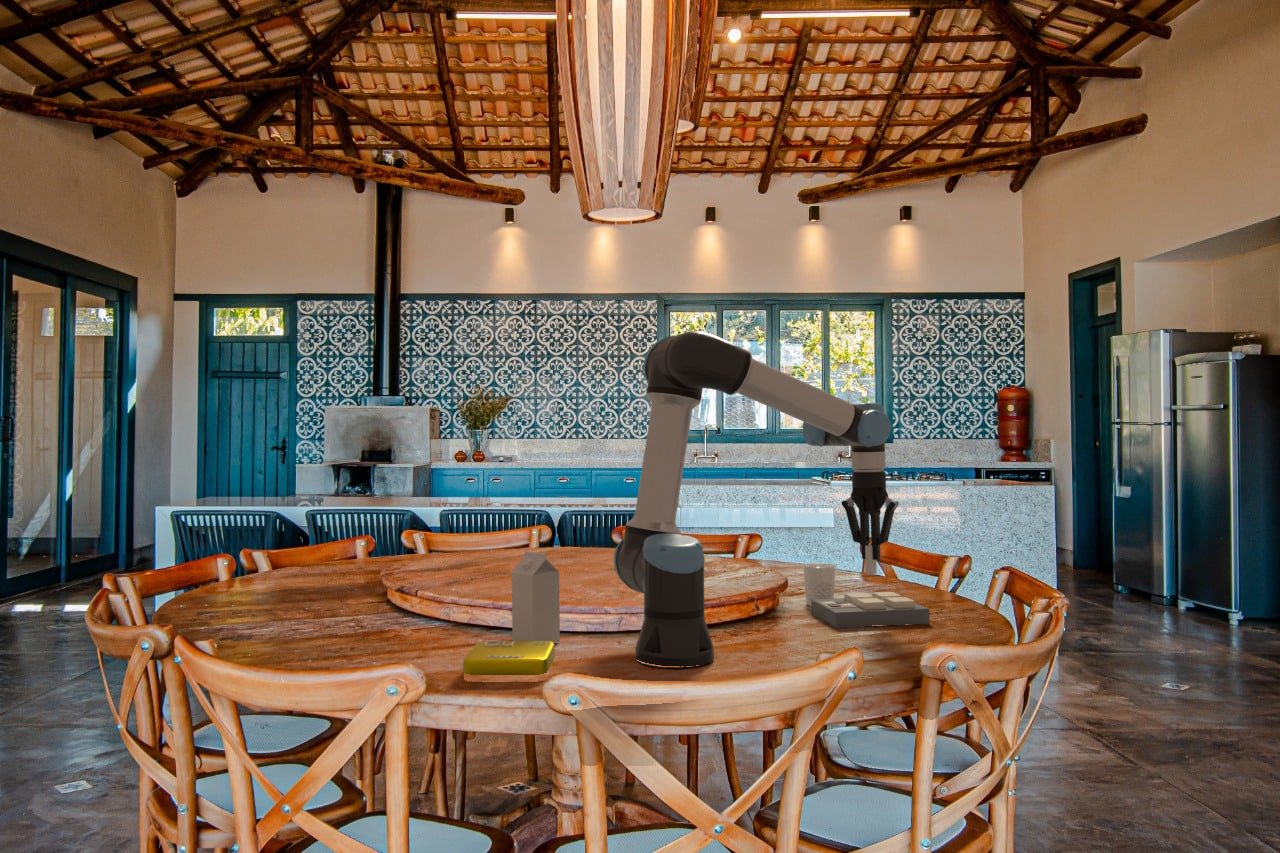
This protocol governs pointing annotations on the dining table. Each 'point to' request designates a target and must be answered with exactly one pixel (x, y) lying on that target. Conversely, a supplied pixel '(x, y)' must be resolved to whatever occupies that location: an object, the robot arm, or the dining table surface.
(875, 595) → the button
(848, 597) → the button
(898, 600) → the button
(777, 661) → the dining table surface
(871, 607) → the button
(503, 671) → the element tile
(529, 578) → the milk carton
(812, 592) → the white cup
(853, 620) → the board
